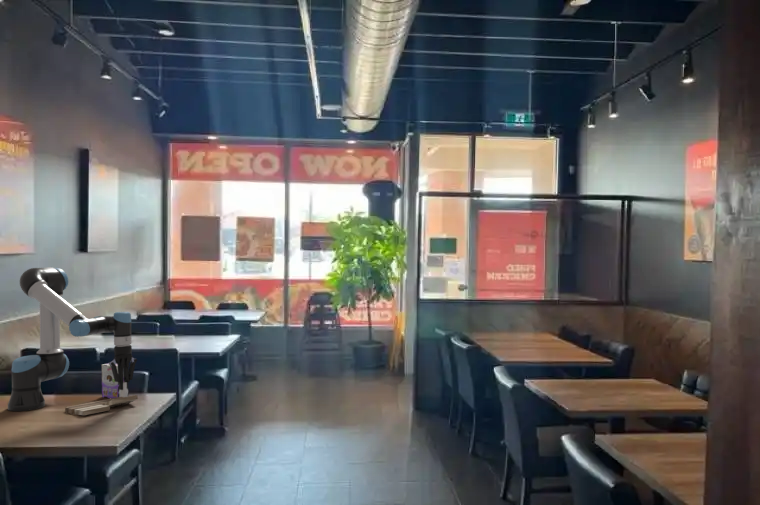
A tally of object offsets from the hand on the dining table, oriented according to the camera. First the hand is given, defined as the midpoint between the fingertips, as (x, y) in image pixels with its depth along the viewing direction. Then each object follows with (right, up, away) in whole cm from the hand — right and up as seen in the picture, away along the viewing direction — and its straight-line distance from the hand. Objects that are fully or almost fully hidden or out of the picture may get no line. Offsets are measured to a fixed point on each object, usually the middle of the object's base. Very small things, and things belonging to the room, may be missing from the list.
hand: (123, 396), depth 292 cm
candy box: (-13, -6, +21) cm, 25 cm away
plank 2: (-2, -3, +1) cm, 4 cm away
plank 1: (-10, -5, -10) cm, 15 cm away
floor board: (-13, -5, +1) cm, 14 cm away
